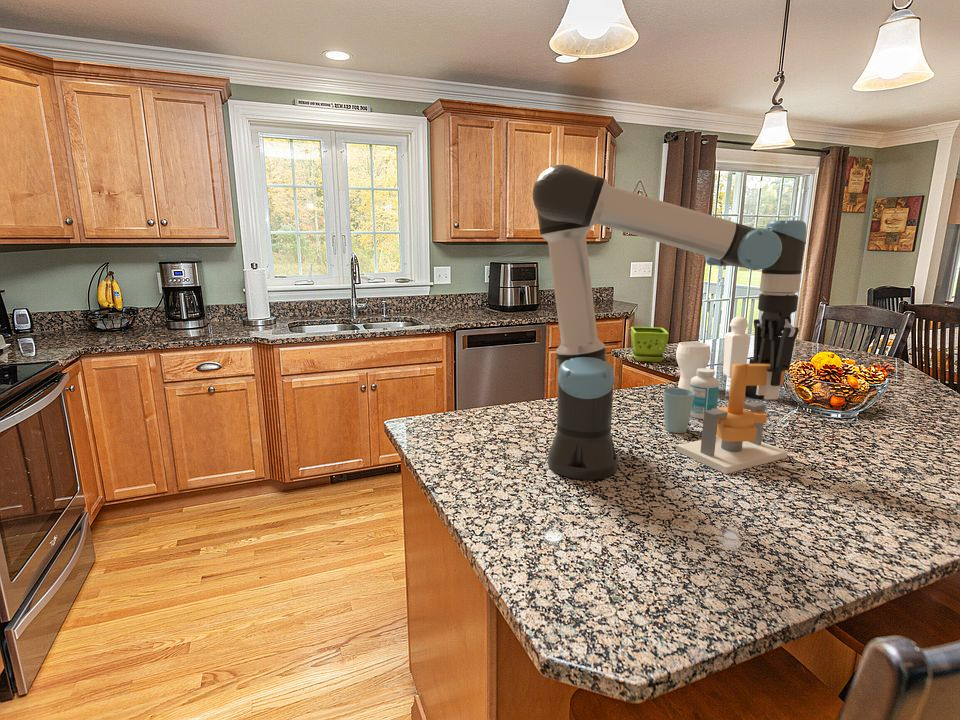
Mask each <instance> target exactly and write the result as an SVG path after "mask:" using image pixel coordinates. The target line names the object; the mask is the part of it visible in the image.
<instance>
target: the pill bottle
mask: <svg viewBox="0 0 960 720" xmlns="http://www.w3.org/2000/svg"><path fill="white" fill-rule="evenodd" d="M696 374H697V376H695V377H693V378H692V379H691V382H690V391H693V392H694V393H695V394H694V399H693V404H692V409H691V413H690V417H692V418H694V419H699V420H703V412H704V411H708V410H713V409H718V398H719V389H720V381H719V380H718V379H717V378H716V377H714V376H715V374H716V372H715V369H712V368H707V367H706V368H699V369H697V372H696Z"/></svg>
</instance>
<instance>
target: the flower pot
mask: <svg viewBox="0 0 960 720" xmlns="http://www.w3.org/2000/svg"><path fill="white" fill-rule="evenodd" d="M669 337H670V333H669V332H668V331H667V330H666V329H665V328H664V327H654V326H653V327H652V326H631V327H630V340H631V345H632V348H633V350H631V354H632V356H633V358H634V360H635V361H637V362H651V363H653V362H654V363H661V362H662V361H664V360H665V356H664V355H663V354H664V352H665V350H666V348H667V345H668V343H669V342H668V341H669Z"/></svg>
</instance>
